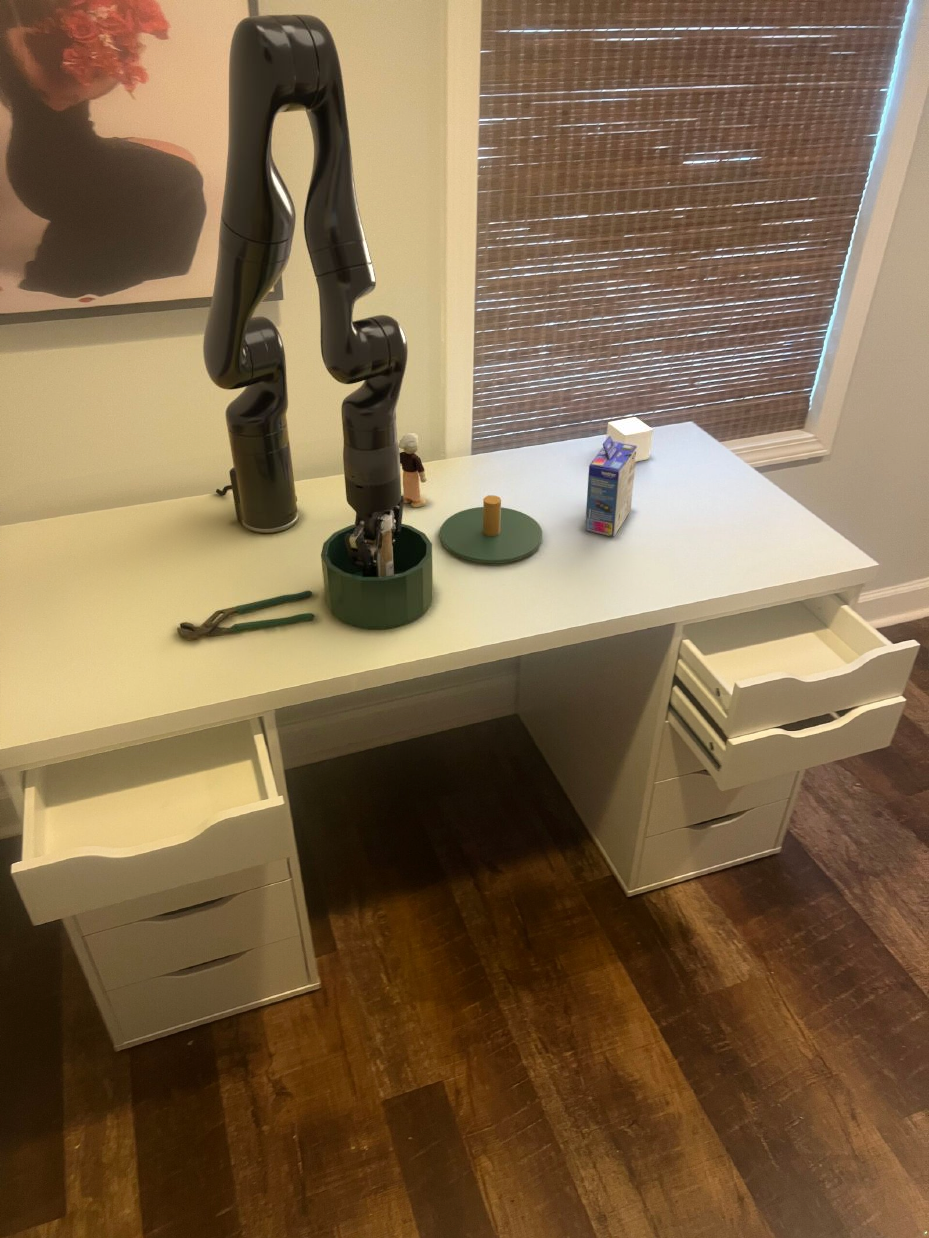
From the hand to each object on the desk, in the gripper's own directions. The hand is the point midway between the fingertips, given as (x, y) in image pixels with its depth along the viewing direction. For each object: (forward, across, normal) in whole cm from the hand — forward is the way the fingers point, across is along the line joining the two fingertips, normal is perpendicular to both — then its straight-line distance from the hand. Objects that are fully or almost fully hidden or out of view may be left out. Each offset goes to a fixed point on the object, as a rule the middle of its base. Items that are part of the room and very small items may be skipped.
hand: (378, 575), depth 131 cm
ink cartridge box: (+4, -35, +25) cm, 43 cm away
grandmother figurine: (+4, -28, -8) cm, 29 cm away
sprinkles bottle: (+3, 0, 0) cm, 3 cm away
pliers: (+4, +12, -15) cm, 20 cm away
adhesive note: (+4, -60, +22) cm, 64 cm away
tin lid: (+3, -22, +9) cm, 24 cm away
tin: (+4, 0, 0) cm, 4 cm away
